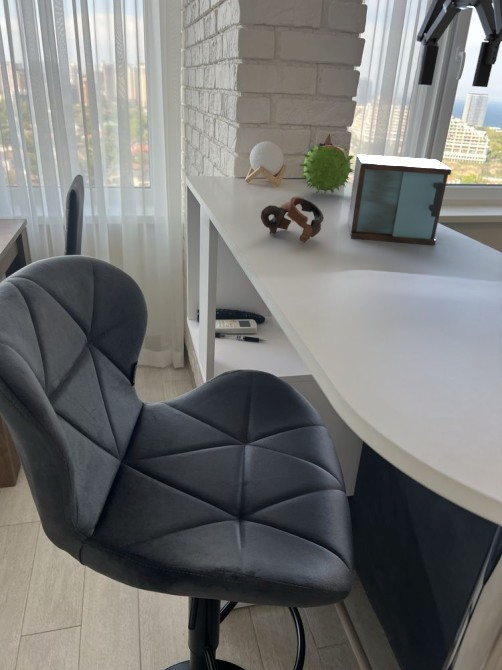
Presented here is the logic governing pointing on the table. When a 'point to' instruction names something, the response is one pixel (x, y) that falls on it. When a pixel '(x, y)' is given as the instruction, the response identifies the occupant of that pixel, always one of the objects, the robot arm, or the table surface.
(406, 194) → the glass door
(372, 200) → the display cabinet
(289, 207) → the two-tone looped frame
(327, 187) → the chestnut
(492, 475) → the table surface
